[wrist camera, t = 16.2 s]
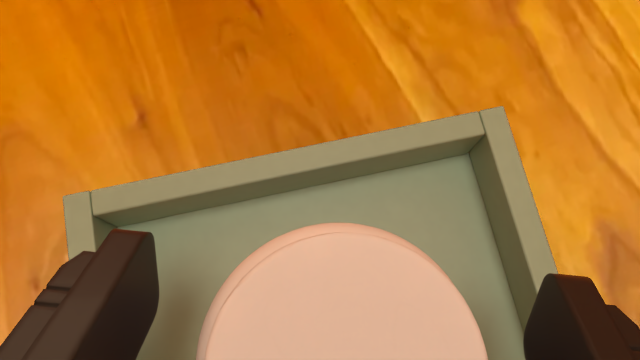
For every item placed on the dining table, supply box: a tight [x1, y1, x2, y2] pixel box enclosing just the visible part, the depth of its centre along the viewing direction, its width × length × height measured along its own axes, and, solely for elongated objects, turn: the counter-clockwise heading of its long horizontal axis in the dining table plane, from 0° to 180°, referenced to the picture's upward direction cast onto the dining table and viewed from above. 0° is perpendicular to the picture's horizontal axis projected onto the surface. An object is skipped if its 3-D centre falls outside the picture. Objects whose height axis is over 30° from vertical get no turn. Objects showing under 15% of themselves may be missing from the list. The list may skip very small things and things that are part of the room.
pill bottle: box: [196, 223, 488, 360], centre depth 12 cm, size 5×5×10 cm
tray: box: [63, 106, 558, 360], centre depth 16 cm, size 14×12×2 cm
